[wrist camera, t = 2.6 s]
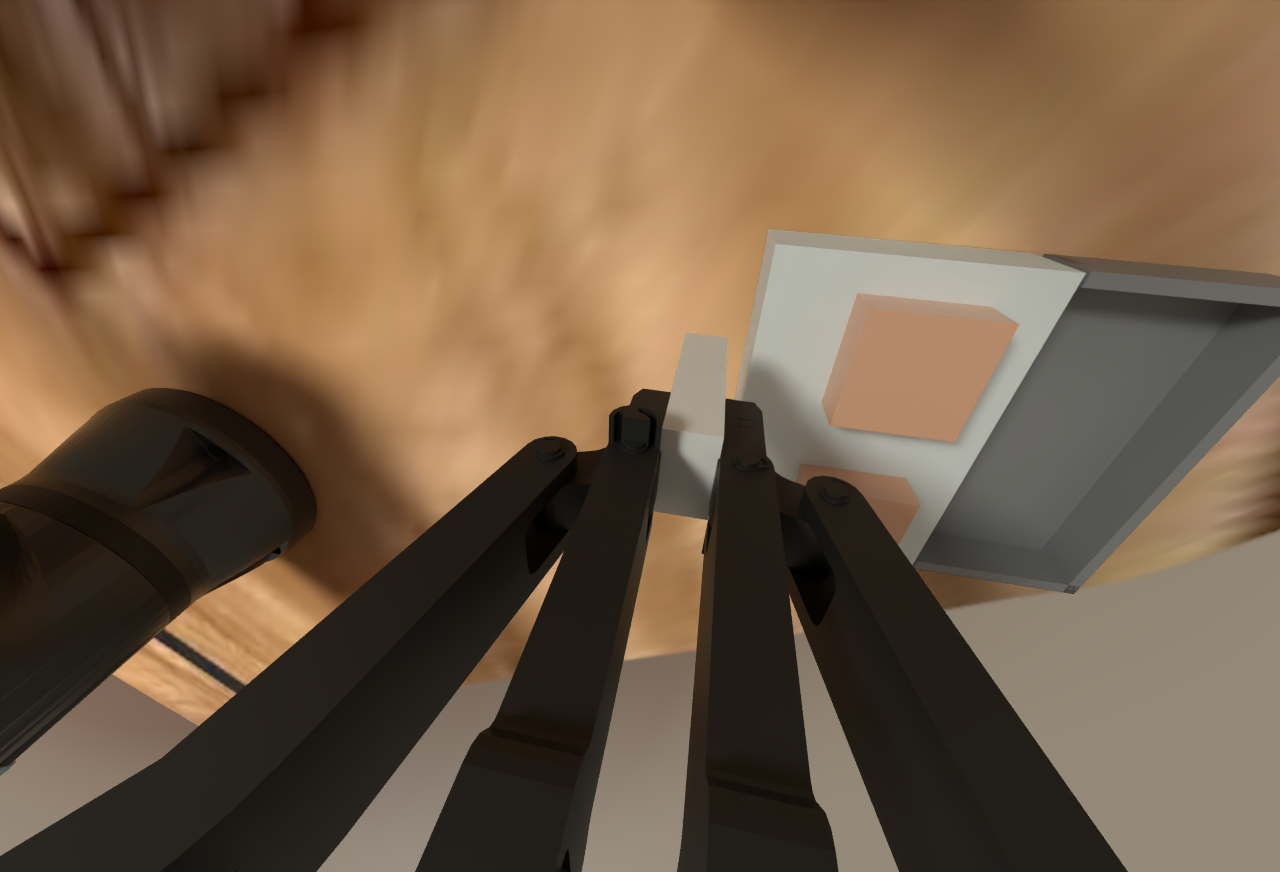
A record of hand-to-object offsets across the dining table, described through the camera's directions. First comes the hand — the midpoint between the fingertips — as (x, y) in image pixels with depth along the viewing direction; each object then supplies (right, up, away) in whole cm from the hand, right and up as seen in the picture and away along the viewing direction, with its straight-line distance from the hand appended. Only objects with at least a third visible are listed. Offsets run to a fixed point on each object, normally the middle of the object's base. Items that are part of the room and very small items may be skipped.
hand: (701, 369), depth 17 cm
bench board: (+8, -1, +8) cm, 12 cm away
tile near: (+9, +1, +2) cm, 9 cm away
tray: (+19, -2, +6) cm, 20 cm away
